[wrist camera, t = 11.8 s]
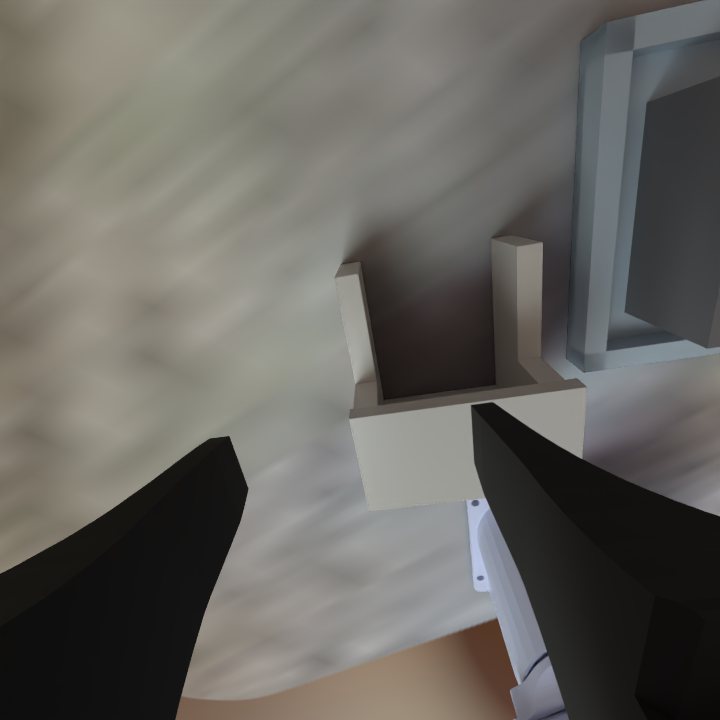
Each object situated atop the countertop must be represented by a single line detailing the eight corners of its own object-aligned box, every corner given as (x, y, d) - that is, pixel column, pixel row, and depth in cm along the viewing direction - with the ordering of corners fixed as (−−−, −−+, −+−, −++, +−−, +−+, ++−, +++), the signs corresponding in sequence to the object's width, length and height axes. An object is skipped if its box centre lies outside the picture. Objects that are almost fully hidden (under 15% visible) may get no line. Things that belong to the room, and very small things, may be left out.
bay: (514, 397, 21) (580, 487, 15) (369, 416, 22) (368, 511, 15) (511, 235, 18) (596, 255, 11) (340, 264, 19) (323, 300, 12)
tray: (744, 333, 19) (778, 345, 18) (566, 358, 20) (583, 372, 19) (827, -13, 14) (888, -41, 12) (580, 41, 15) (606, 21, 13)
